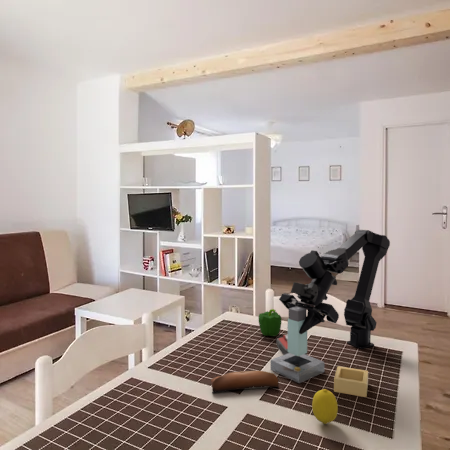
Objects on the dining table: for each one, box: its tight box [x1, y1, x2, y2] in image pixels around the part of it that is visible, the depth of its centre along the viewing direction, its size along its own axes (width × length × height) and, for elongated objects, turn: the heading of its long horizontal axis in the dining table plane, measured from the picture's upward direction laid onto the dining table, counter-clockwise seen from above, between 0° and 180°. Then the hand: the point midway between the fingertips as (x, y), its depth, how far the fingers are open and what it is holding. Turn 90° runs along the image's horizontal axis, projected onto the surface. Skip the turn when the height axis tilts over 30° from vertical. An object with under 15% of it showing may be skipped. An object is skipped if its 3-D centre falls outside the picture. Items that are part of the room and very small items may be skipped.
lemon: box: [311, 388, 339, 425], centre depth 86 cm, size 6×6×8 cm
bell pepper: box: [258, 308, 282, 337], centre depth 144 cm, size 8×8×10 cm
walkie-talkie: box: [276, 334, 308, 355], centre depth 132 cm, size 9×4×20 cm
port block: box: [270, 353, 325, 384], centre depth 113 cm, size 11×11×3 cm
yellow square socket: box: [333, 365, 369, 398], centre depth 103 cm, size 8×8×4 cm
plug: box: [287, 306, 308, 356], centre depth 112 cm, size 4×4×13 cm
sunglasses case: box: [210, 370, 280, 394], centre depth 105 cm, size 18×7×7 cm
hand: (294, 331), depth 112 cm, fingers closed on plug, 4 cm apart
